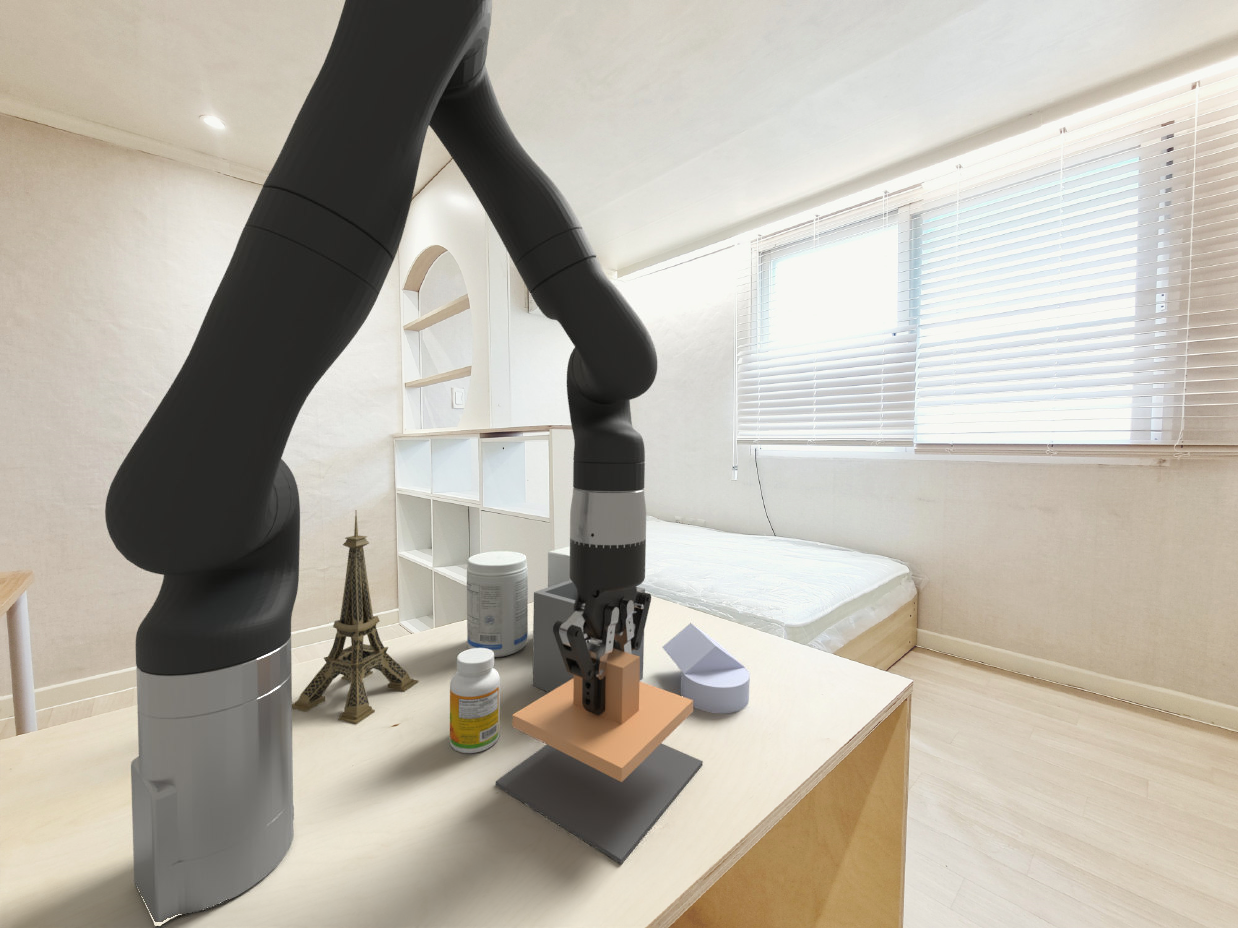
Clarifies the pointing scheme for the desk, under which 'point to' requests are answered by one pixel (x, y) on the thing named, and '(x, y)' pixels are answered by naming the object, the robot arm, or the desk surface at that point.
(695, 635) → the wedge on round base
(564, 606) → the storage box
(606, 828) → the rubber mat
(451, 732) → the supplement bottle
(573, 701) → the lid
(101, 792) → the desk surface
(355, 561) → the eiffel tower
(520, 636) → the supplement tub
